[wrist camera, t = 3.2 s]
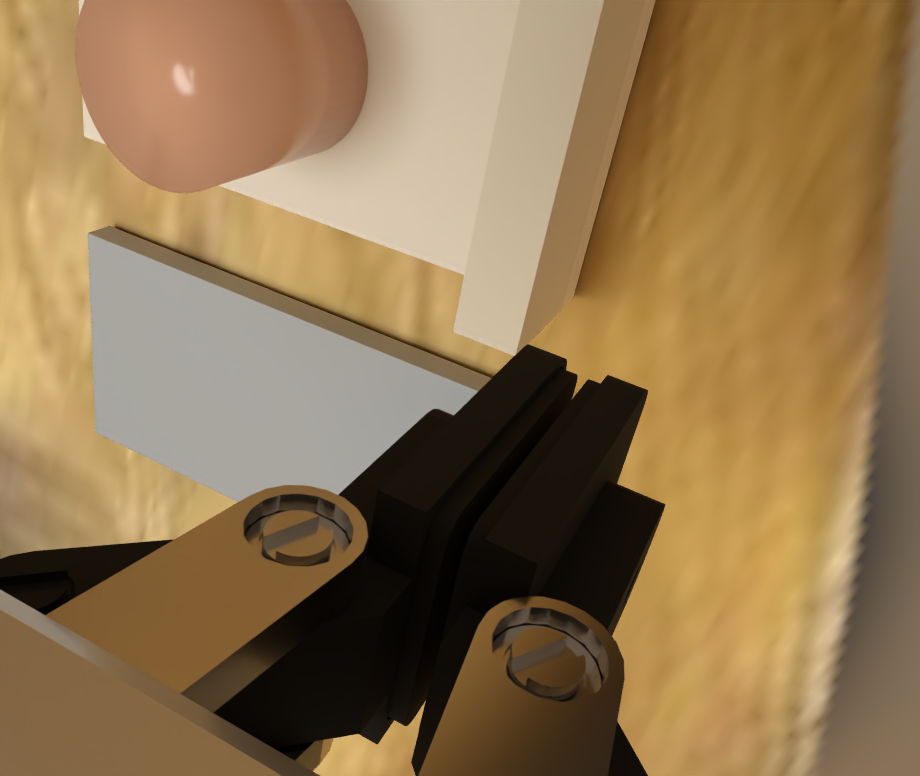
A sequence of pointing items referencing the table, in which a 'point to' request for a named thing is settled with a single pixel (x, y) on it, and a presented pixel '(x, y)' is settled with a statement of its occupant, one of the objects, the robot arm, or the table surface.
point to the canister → (219, 84)
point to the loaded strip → (477, 147)
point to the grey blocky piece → (247, 375)
